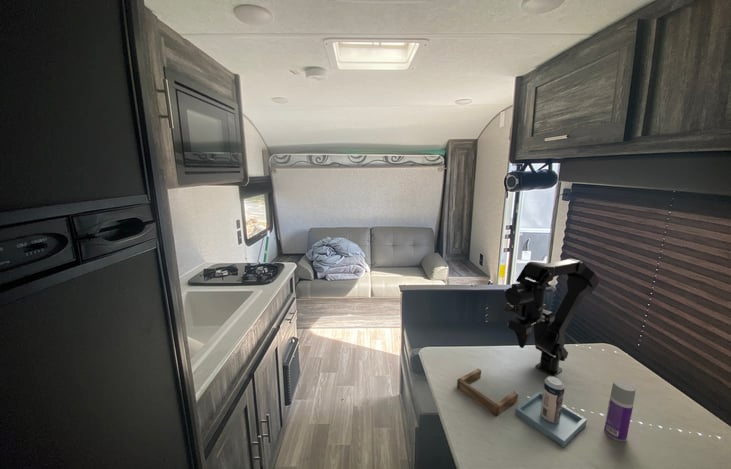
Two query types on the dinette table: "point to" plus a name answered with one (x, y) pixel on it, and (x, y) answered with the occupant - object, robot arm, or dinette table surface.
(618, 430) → the container
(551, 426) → the tray
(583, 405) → the dinette table surface
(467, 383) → the frame
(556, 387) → the beer can
